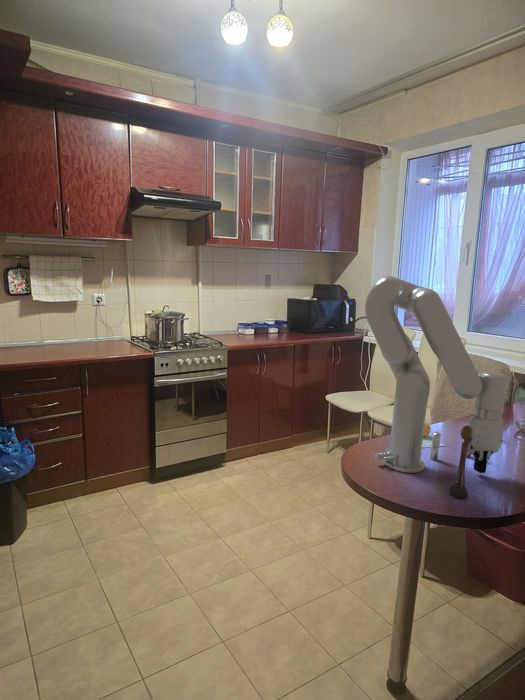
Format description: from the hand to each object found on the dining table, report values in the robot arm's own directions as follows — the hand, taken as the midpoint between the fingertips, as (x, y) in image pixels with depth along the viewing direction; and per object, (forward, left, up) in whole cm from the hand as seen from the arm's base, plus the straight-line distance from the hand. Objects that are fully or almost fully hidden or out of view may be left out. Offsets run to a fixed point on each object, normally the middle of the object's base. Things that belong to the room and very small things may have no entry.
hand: (479, 470), depth 134 cm
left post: (-6, +13, -2) cm, 14 cm away
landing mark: (0, +27, -2) cm, 27 cm away
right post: (+7, +13, -2) cm, 15 cm away
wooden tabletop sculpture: (-14, -9, -2) cm, 17 cm away
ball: (+2, +32, +1) cm, 32 cm away
